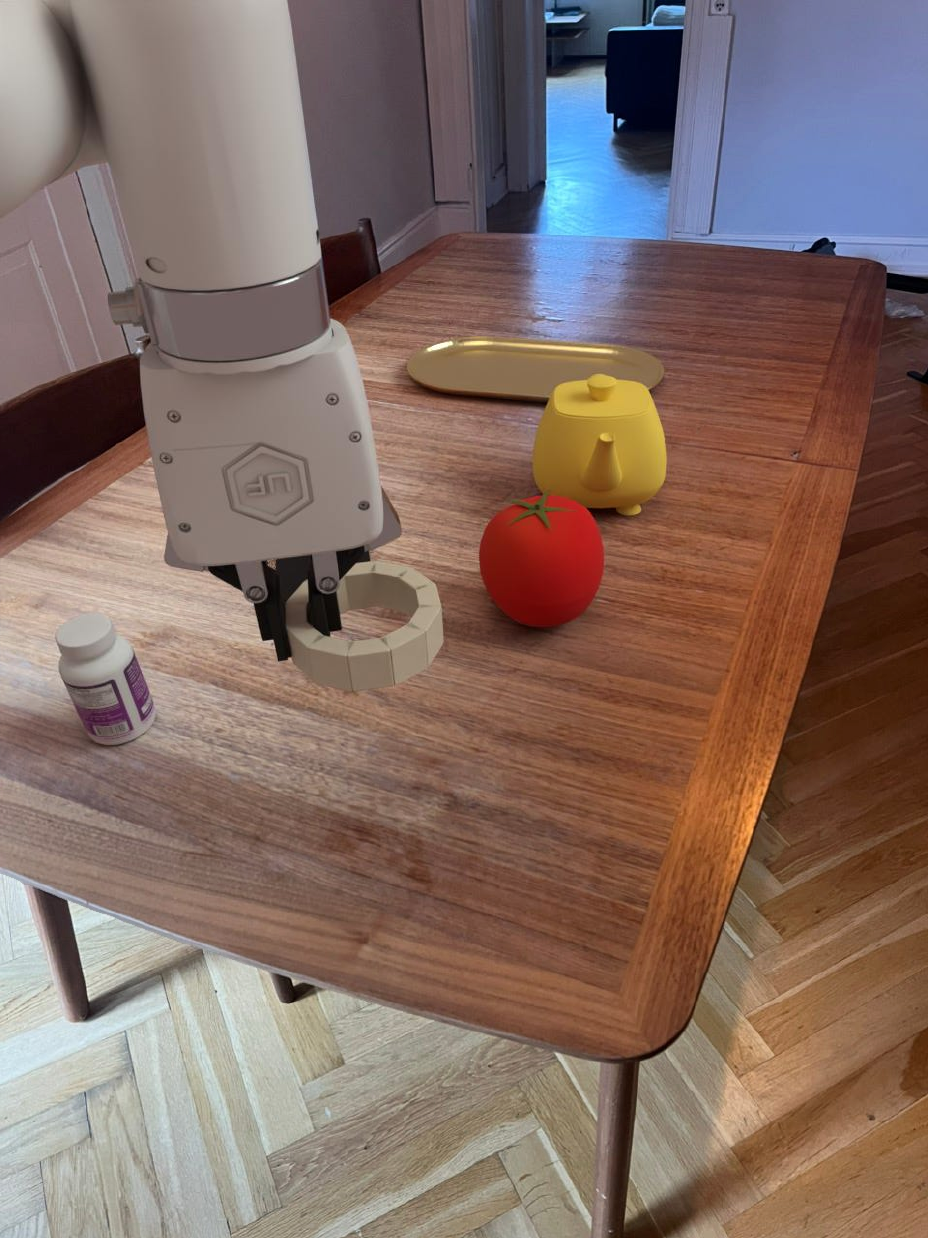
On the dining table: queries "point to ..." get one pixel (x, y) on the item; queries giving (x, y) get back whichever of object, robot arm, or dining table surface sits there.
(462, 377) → the serving platter
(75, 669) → the pill bottle
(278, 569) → the peg stand
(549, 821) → the dining table surface
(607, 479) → the teapot
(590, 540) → the tomato
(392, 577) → the tape roll
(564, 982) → the dining table surface
